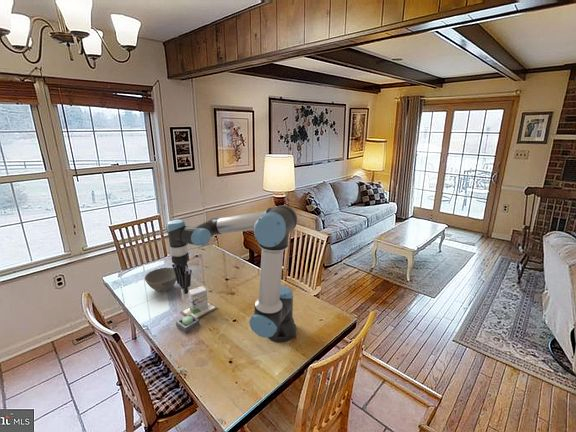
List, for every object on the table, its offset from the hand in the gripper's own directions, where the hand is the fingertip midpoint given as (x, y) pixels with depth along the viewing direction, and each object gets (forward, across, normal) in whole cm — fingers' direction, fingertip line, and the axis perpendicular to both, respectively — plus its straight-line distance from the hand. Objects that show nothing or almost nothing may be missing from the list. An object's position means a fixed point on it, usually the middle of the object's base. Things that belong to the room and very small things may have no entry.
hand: (185, 298), depth 143 cm
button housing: (+16, +1, 0) cm, 16 cm away
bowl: (+15, +42, -10) cm, 45 cm away
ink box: (+15, +7, -11) cm, 20 cm away
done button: (+15, +1, 0) cm, 15 cm away
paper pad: (+16, +7, -11) cm, 20 cm away
